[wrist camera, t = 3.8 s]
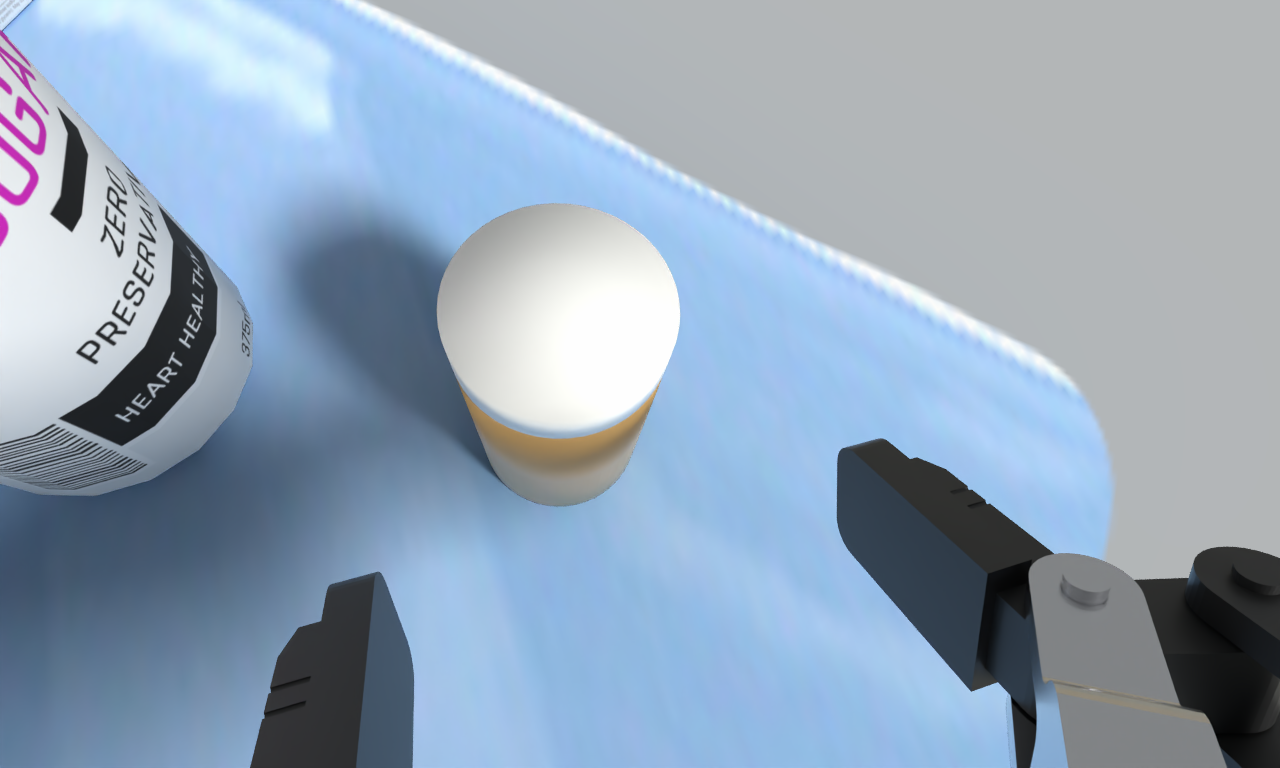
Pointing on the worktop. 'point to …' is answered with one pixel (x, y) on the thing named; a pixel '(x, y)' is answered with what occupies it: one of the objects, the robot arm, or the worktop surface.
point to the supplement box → (10, 10)
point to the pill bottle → (558, 345)
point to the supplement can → (100, 309)
